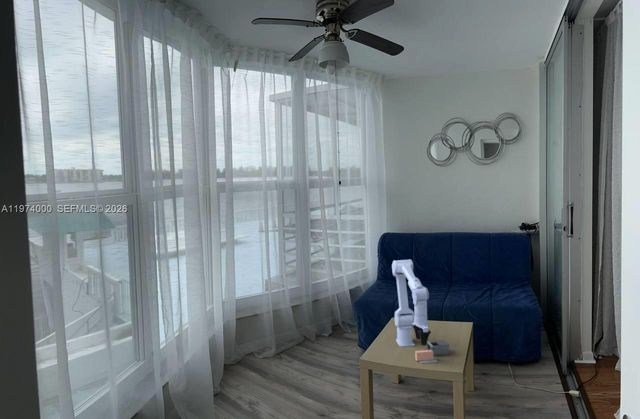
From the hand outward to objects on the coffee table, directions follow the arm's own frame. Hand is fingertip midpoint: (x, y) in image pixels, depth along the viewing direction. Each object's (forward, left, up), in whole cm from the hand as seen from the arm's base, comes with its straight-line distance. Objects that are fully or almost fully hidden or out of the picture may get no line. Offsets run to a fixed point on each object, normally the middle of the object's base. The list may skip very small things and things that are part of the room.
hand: (421, 341), depth 201 cm
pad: (0, +3, -9) cm, 9 cm away
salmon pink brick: (0, +1, -9) cm, 9 cm away
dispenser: (-7, +10, -9) cm, 15 cm away
